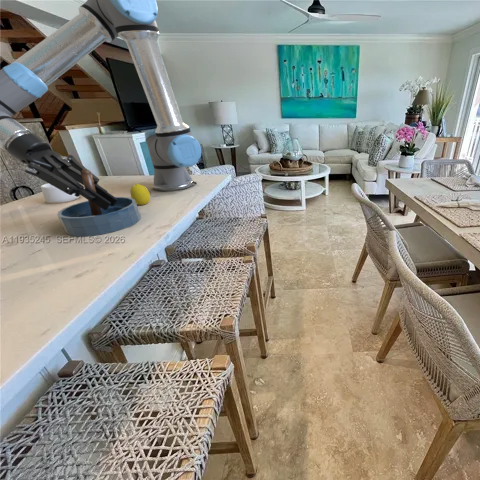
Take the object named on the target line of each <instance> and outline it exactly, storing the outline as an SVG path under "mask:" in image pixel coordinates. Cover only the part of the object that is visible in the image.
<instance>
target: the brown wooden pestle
mask: <svg viewBox="0 0 480 480" xmlns="http://www.w3.org/2000/svg"><path fill="white" fill-rule="evenodd" d="M92 174H93V172H92V171H91V170H90V169H88V168H86V169H83V170H82V171H81V176H82V180H83V183H84V185H83V186H84V189H85V188H86V187H89V188H90V189H92V190H93V191H95V192H96V189H95V185H94V181H93V177H92ZM87 201H89V200H87ZM89 205H90V209H91V212H92V216H95V215H100V214H102V212H101V208H100V207H99V206H98V205H96V204H95V203H93V202H91V201H89Z"/></svg>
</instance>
